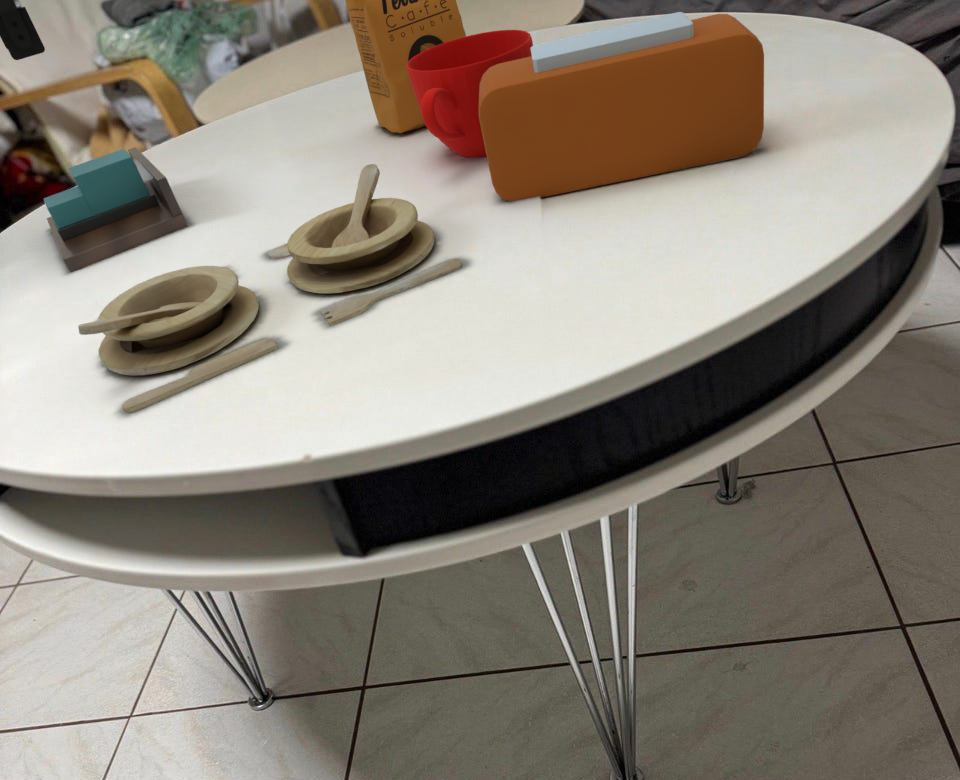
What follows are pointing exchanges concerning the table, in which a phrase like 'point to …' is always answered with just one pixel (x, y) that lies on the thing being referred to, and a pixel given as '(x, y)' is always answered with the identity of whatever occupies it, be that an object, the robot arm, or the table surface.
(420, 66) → the ceramic cup
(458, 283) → the table surface
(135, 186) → the teal l-shaped block
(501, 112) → the alarm clock
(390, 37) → the coffee package
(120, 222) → the brown l-shaped piece
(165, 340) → the tableware set
